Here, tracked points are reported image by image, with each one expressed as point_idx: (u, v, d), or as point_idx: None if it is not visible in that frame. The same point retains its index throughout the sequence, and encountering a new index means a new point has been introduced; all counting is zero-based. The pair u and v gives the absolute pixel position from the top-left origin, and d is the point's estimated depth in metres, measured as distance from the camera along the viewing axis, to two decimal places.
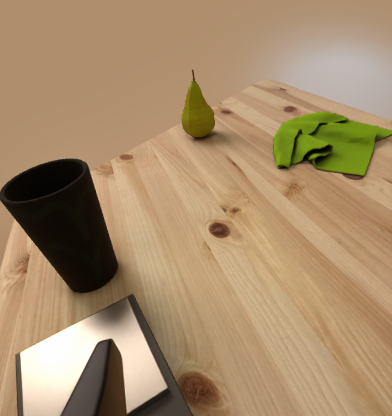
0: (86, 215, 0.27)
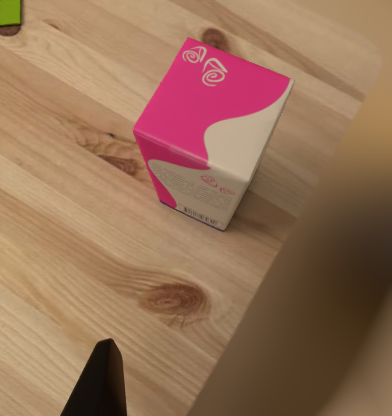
0: None
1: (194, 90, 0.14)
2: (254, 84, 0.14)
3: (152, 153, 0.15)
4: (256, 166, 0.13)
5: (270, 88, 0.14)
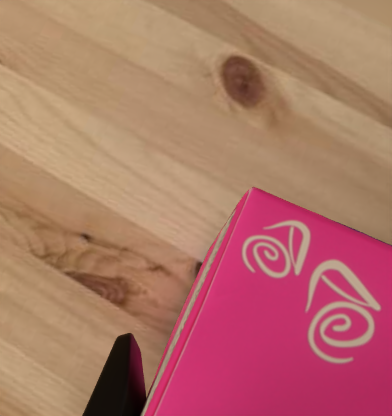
0: None
1: (288, 382, 0.04)
2: None
3: None
4: None
5: None
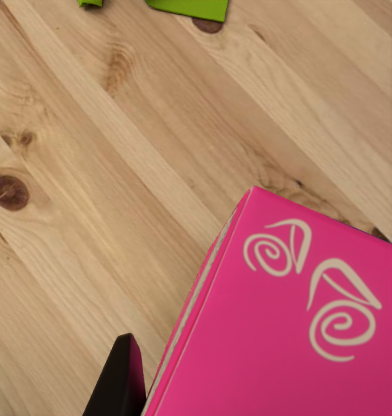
0: None
1: (289, 381, 0.04)
2: None
3: None
4: None
5: None
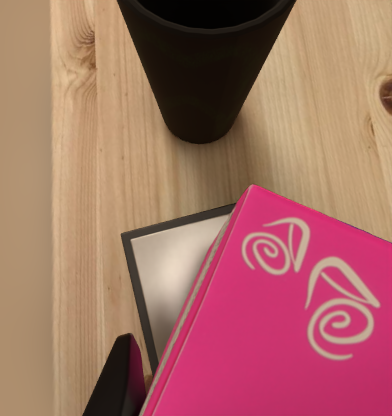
0: (260, 62, 0.14)
1: (288, 379, 0.04)
2: None
3: None
4: None
5: None
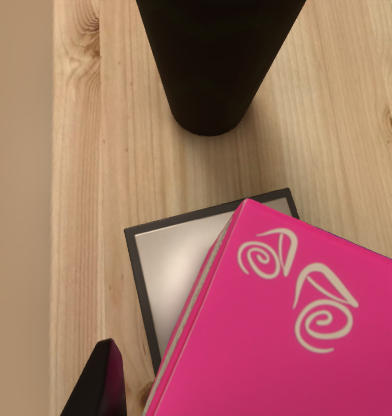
0: (280, 41, 0.13)
1: (278, 369, 0.05)
2: None
3: None
4: None
5: None
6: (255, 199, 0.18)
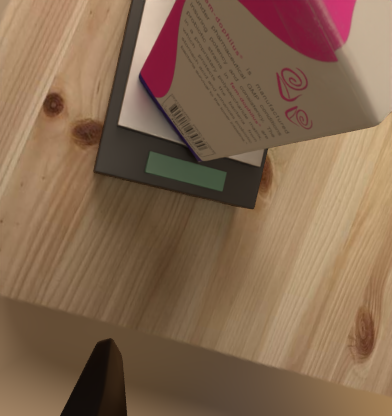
0: None
1: None
2: None
3: None
4: None
5: None
6: None
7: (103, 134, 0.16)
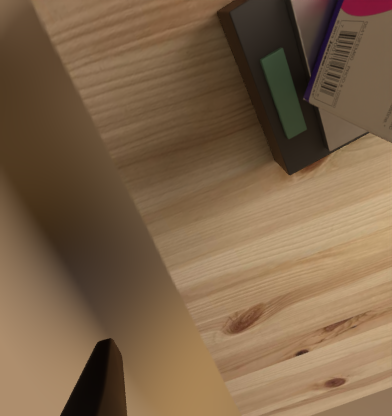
0: None
1: None
2: None
3: None
4: None
5: None
6: None
7: None
